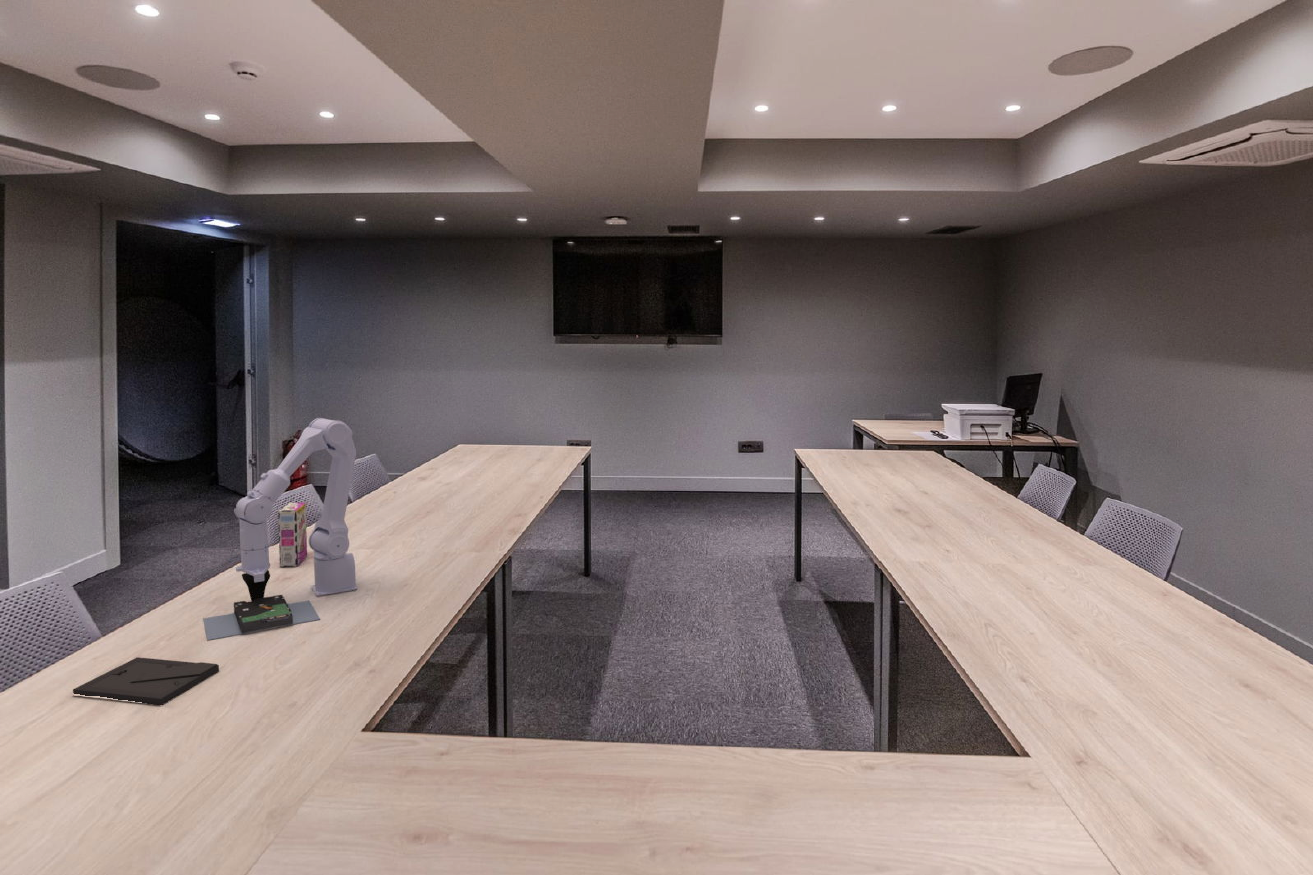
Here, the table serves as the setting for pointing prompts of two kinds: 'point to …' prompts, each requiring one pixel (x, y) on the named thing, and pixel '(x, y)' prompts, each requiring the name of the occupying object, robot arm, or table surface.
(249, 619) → the disk drive
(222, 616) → the mat
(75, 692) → the picture frame
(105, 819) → the table surface
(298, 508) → the candy bar box
